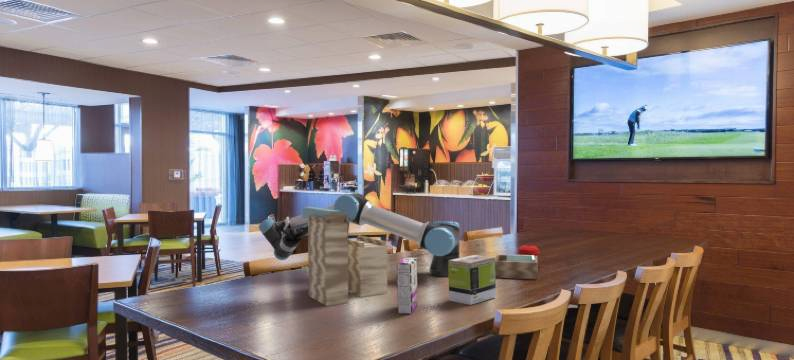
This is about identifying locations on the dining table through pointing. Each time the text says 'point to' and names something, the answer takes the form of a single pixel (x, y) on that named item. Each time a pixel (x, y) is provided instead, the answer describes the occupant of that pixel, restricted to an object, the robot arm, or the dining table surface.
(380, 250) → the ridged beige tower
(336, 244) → the stand
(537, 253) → the apple
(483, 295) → the tea box
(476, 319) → the dining table surface
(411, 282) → the candy bar box
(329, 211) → the bar
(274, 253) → the robot arm
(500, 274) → the caddy
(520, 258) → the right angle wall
